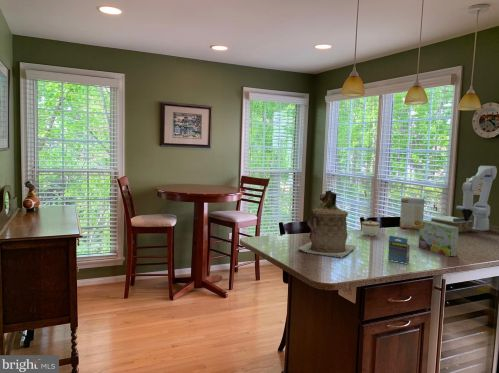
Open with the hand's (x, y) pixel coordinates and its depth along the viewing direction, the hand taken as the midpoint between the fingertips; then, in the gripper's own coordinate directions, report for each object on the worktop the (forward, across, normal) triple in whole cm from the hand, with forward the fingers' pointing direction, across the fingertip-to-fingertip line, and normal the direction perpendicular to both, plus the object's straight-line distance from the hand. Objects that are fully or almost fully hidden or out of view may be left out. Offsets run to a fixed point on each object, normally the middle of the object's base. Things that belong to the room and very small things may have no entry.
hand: (466, 221), depth 260 cm
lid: (+1, -11, 0) cm, 11 cm away
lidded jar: (+8, -19, -67) cm, 70 cm away
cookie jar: (+8, 0, -117) cm, 117 cm away
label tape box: (+8, +31, -100) cm, 105 cm away
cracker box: (+8, -24, -24) cm, 35 cm away
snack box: (+8, +26, -65) cm, 70 cm away
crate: (+7, -11, 0) cm, 13 cm away
